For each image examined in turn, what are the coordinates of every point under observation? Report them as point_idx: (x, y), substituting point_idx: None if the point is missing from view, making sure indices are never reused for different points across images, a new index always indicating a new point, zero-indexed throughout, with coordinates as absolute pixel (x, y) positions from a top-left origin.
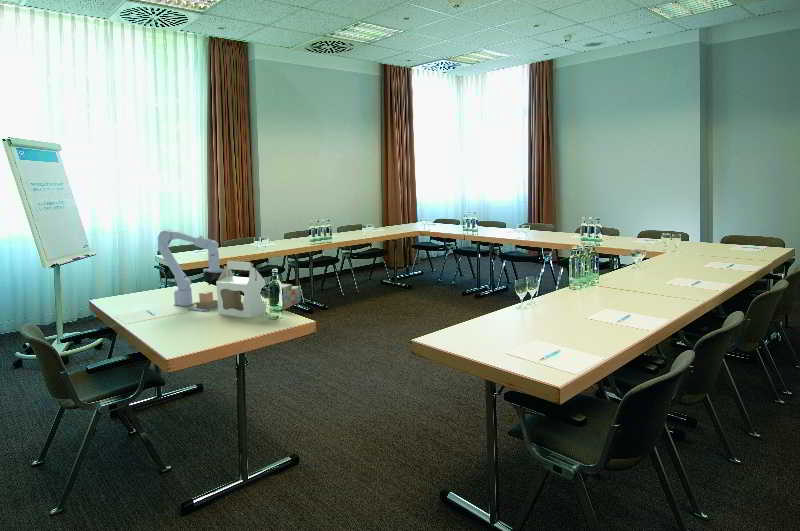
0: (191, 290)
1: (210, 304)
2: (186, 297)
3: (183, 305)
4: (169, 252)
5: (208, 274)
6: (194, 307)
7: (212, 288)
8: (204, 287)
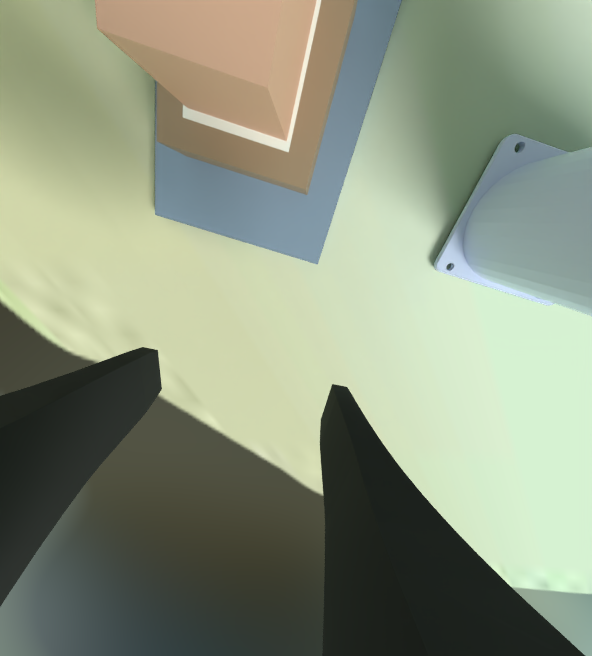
0: (572, 279)
1: None
2: (572, 162)
3: (535, 140)
4: None
5: (373, 652)
6: (379, 20)
7: None
8: None
